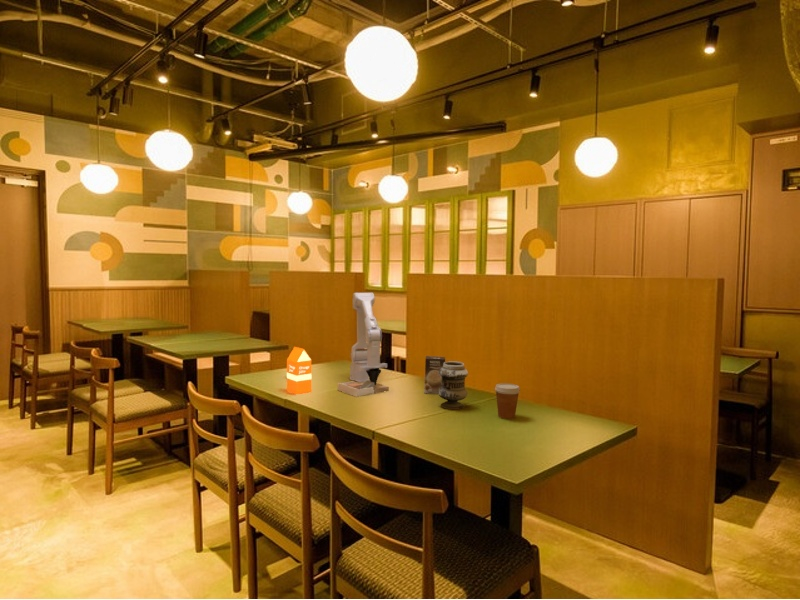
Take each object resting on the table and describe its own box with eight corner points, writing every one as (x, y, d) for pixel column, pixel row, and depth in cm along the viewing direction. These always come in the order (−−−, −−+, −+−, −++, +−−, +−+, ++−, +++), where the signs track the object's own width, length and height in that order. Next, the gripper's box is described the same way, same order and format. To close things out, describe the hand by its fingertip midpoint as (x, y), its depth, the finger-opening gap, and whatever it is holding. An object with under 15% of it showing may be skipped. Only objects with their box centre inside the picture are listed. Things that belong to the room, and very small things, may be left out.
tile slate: (360, 390, 233) (359, 386, 233) (368, 383, 236) (367, 380, 235) (367, 392, 229) (365, 388, 229) (375, 386, 232) (373, 382, 231)
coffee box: (423, 393, 231) (424, 358, 230) (424, 390, 238) (425, 355, 237) (444, 394, 230) (445, 359, 229) (444, 391, 237) (445, 356, 236)
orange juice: (296, 394, 226) (296, 349, 225) (286, 391, 233) (286, 347, 231) (311, 392, 231) (311, 348, 230) (301, 388, 238) (301, 345, 236)
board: (355, 387, 242) (355, 382, 242) (369, 384, 247) (369, 380, 247) (374, 393, 230) (374, 389, 230) (388, 390, 235) (388, 386, 235)
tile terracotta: (347, 388, 236) (347, 384, 236) (355, 386, 240) (356, 382, 240) (353, 390, 233) (353, 386, 233) (362, 388, 236) (362, 384, 236)
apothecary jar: (455, 412, 203) (456, 367, 202) (431, 406, 211) (432, 362, 210) (473, 406, 212) (474, 363, 211) (449, 400, 220) (450, 359, 219)
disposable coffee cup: (489, 414, 200) (490, 384, 200) (509, 412, 204) (510, 382, 203) (503, 421, 192) (504, 389, 191) (524, 418, 196) (525, 387, 195)
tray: (337, 390, 235) (337, 382, 235) (354, 387, 241) (355, 379, 241) (356, 397, 224) (356, 389, 224) (374, 393, 230) (374, 386, 230)
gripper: (366, 358, 226) (365, 389, 227) (391, 355, 235) (391, 384, 236) (356, 356, 231) (356, 386, 232) (382, 352, 241) (381, 381, 241)
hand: (373, 385), depth 234 cm, fingers closed
